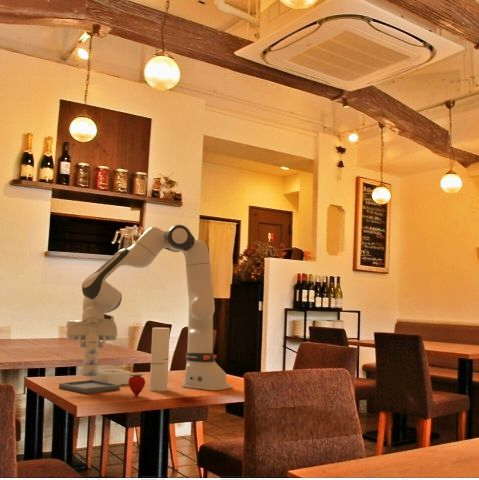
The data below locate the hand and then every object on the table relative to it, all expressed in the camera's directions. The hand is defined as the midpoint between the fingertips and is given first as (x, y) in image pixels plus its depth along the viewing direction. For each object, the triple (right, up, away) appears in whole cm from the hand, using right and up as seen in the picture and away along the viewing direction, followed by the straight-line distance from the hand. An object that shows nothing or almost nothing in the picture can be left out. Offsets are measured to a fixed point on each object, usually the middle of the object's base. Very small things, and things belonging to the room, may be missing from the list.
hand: (91, 346), depth 224 cm
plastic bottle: (-1, -12, -1) cm, 12 cm away
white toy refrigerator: (+27, -18, +2) cm, 32 cm away
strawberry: (+21, -16, -15) cm, 30 cm away
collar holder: (+4, -19, +15) cm, 25 cm away
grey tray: (-1, -17, -1) cm, 17 cm away
